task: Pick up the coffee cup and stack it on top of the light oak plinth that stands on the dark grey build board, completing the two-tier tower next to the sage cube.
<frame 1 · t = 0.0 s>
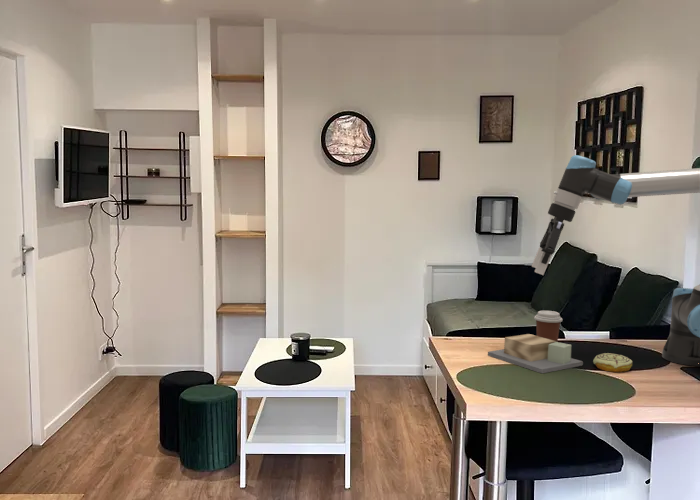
hand: (537, 270, 203), 28 cm above the table, tool tilted 20°, fingers open, 13 cm apart
sage cube: (559, 360, 200), point 1 cm above the table, touching build board
decorated donut: (612, 369, 198), on the table
oak plinth: (529, 347, 205), on the build board, point 4 cm above the table
build board: (534, 360, 204), on the table
coffee cup: (546, 348, 220), on the table
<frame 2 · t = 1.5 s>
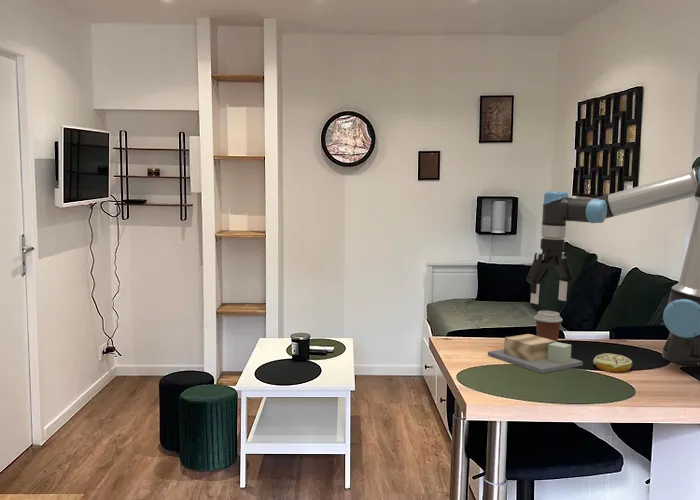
hand: (548, 301, 218), 16 cm above the table, tool pointing down, fingers open, 13 cm apart
nothing on the table moved.
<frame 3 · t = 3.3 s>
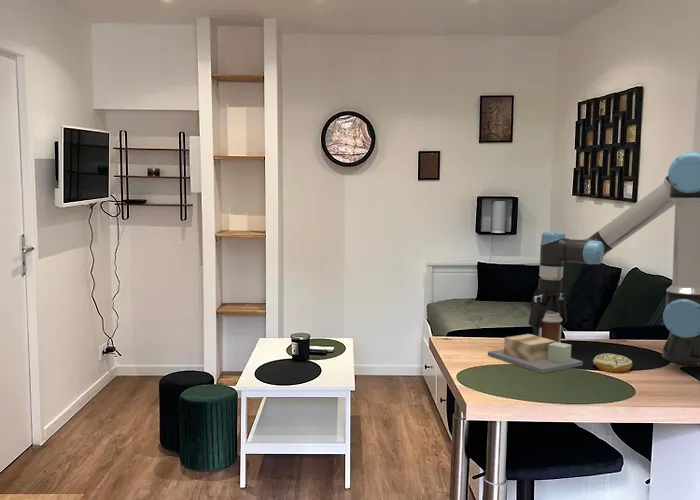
hand: (546, 344, 220), 1 cm above the table, tool pointing down, fingers closed on coffee cup, 9 cm apart
coffee cup: (546, 348, 220), on the table, touching gripper
everything else where it was.
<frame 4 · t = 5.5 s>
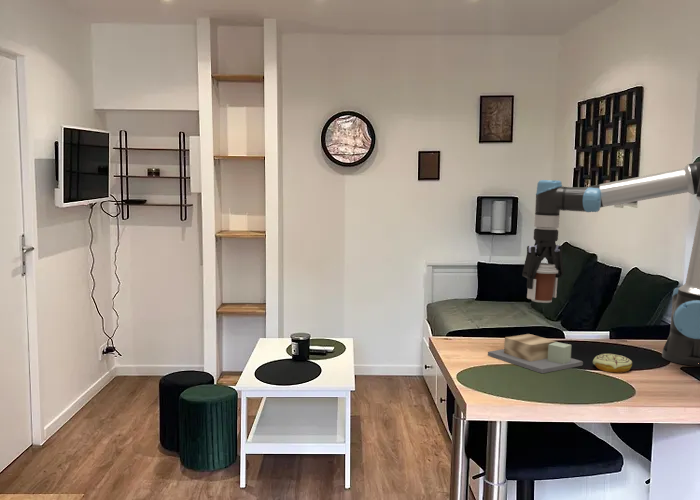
hand: (541, 297, 213), 18 cm above the table, tool pointing down, fingers closed on coffee cup, 9 cm apart
coffee cup: (541, 301, 213), point 17 cm above the table, touching gripper
everything else where it was.
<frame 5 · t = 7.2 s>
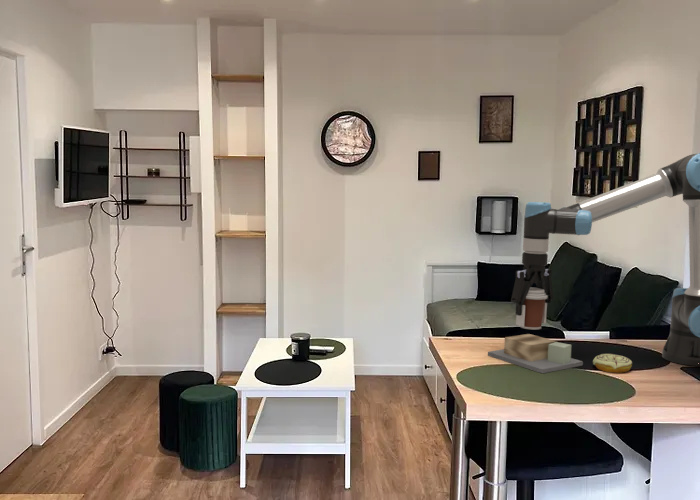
hand: (530, 324, 204), 11 cm above the table, tool pointing down, fingers closed on coffee cup, 9 cm apart
coffee cup: (530, 327, 205), point 10 cm above the table, touching gripper
everything else where it was.
when the fingers open (9 cm above the table, at t = 8.1 s): coffee cup drops 1 cm, resting on oak plinth.
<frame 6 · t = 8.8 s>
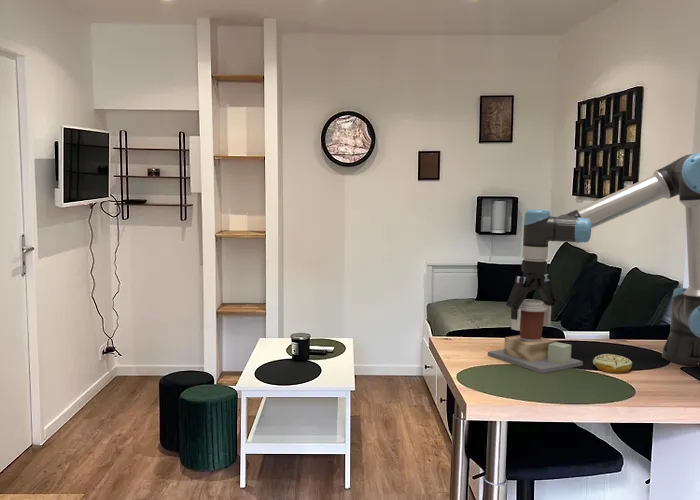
hand: (531, 327, 205), 10 cm above the table, tool pointing down, fingers open, 13 cm apart
coffee cup: (530, 339, 205), point 6 cm above the table, touching oak plinth
everything else where it was.
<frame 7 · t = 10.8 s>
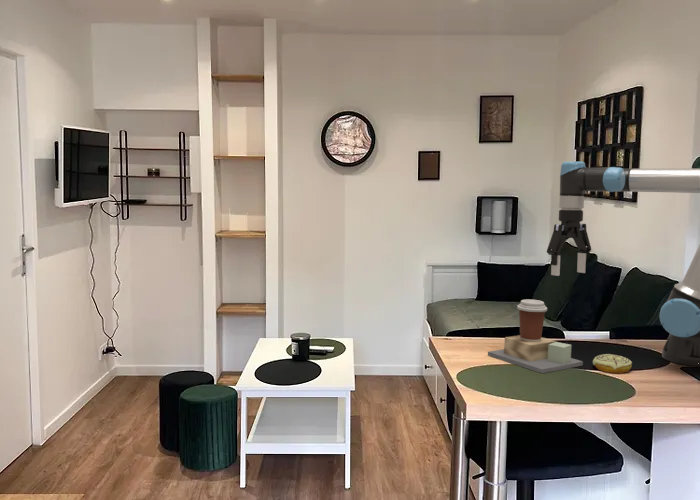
hand: (568, 274, 216), 25 cm above the table, tool pointing down, fingers open, 13 cm apart
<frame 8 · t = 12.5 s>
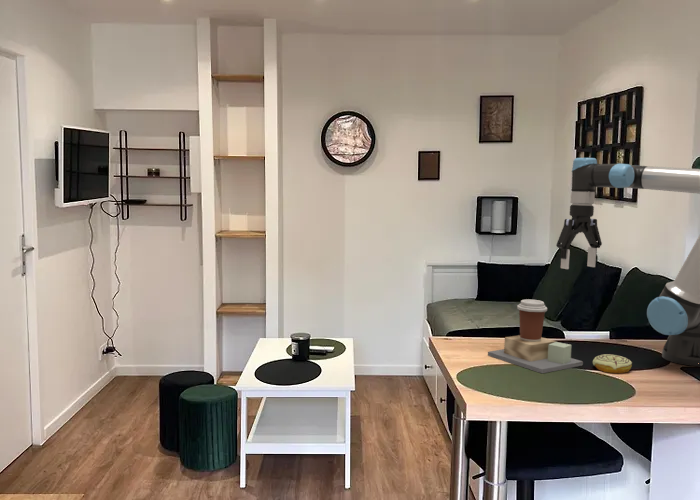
hand: (578, 267, 221), 27 cm above the table, tool pointing down, fingers open, 13 cm apart
at the end: coffee cup 0.1 cm from the oak plinth (horizontally); coffee cup point 6.0 cm above the table; coffee cup tilted 0° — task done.
